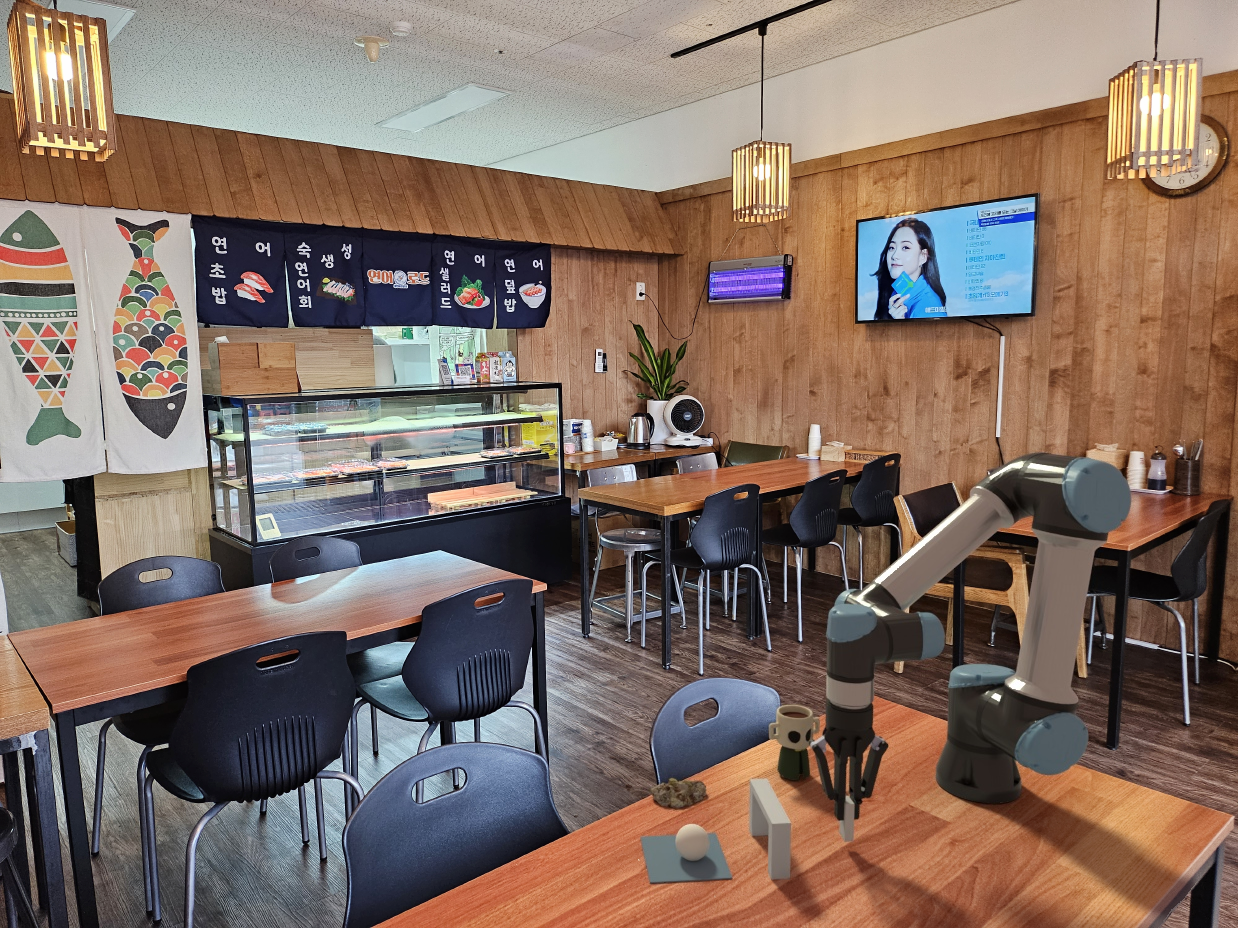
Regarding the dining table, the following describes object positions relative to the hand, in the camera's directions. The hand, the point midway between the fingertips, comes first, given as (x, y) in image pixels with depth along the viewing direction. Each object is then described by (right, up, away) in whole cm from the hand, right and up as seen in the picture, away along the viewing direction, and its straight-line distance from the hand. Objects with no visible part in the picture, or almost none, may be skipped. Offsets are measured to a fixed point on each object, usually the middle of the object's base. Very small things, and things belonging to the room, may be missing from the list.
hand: (846, 836), depth 141 cm
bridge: (-13, -2, -1) cm, 13 cm away
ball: (-26, 0, -3) cm, 26 cm away
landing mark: (-27, -2, -2) cm, 27 cm away
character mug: (-3, +1, +26) cm, 26 cm away
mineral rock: (-26, -1, +18) cm, 32 cm away
